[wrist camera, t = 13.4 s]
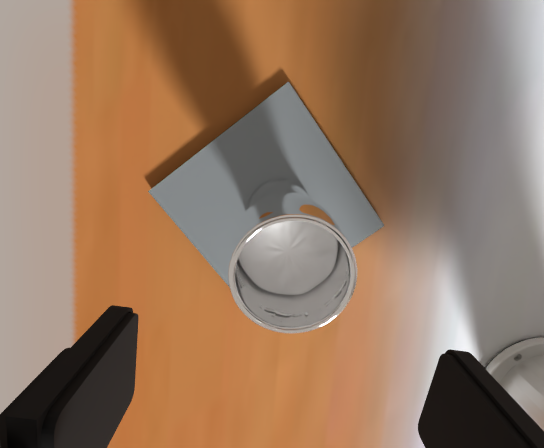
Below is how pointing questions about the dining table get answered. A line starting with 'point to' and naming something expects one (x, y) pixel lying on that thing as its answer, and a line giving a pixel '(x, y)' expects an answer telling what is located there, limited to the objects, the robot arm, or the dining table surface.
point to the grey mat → (261, 177)
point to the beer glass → (290, 261)
